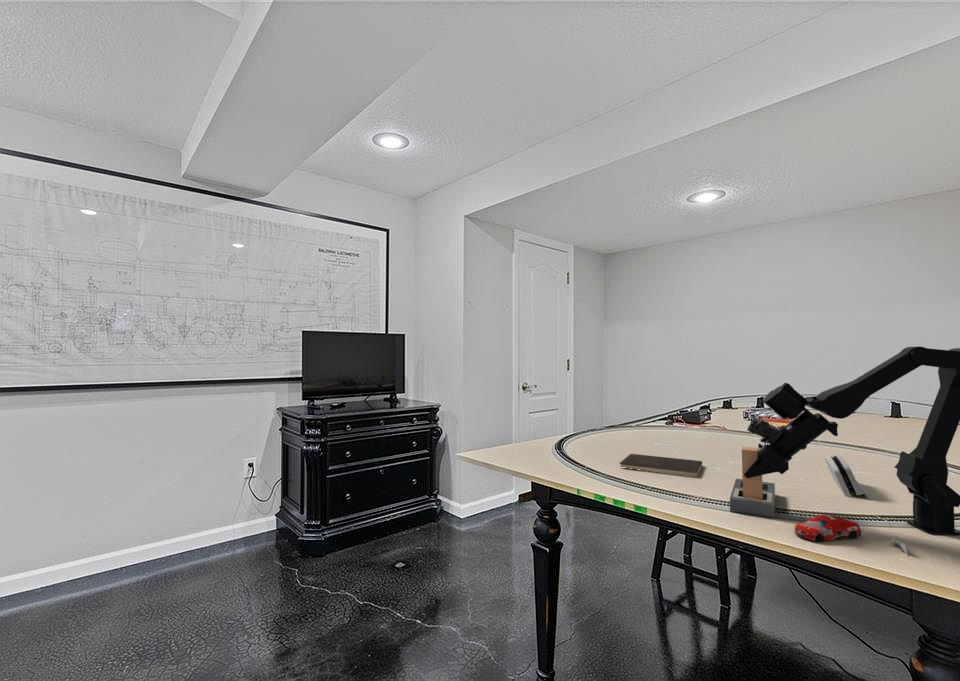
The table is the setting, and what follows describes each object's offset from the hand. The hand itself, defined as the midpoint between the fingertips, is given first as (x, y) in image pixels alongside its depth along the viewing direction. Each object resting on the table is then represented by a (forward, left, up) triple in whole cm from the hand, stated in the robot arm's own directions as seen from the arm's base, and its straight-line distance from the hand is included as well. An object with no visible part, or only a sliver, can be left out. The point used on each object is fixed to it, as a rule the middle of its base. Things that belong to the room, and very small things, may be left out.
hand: (745, 474), depth 114 cm
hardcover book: (+38, +11, -9) cm, 40 cm away
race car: (-16, -9, -8) cm, 20 cm away
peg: (-1, -1, -7) cm, 7 cm away
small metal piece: (-22, -20, -9) cm, 31 cm away
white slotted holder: (+19, -33, -8) cm, 39 cm away
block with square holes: (+4, -3, -8) cm, 9 cm away
